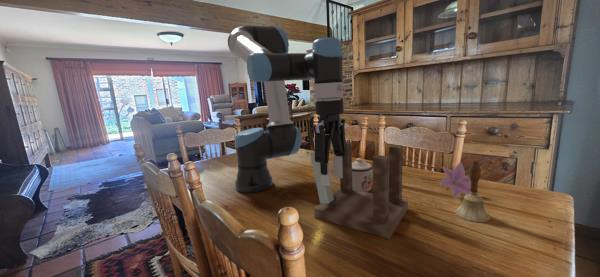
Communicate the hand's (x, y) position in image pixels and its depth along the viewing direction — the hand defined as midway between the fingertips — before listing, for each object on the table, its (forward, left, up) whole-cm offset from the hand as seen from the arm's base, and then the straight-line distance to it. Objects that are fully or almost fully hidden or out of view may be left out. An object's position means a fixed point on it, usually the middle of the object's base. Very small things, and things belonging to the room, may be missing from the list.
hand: (332, 180), depth 72 cm
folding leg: (-2, 0, -7) cm, 7 cm away
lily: (+28, +34, -12) cm, 46 cm away
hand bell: (+33, +20, -12) cm, 41 cm away
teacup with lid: (-2, +25, -12) cm, 28 cm away
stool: (+6, +6, -12) cm, 14 cm away
